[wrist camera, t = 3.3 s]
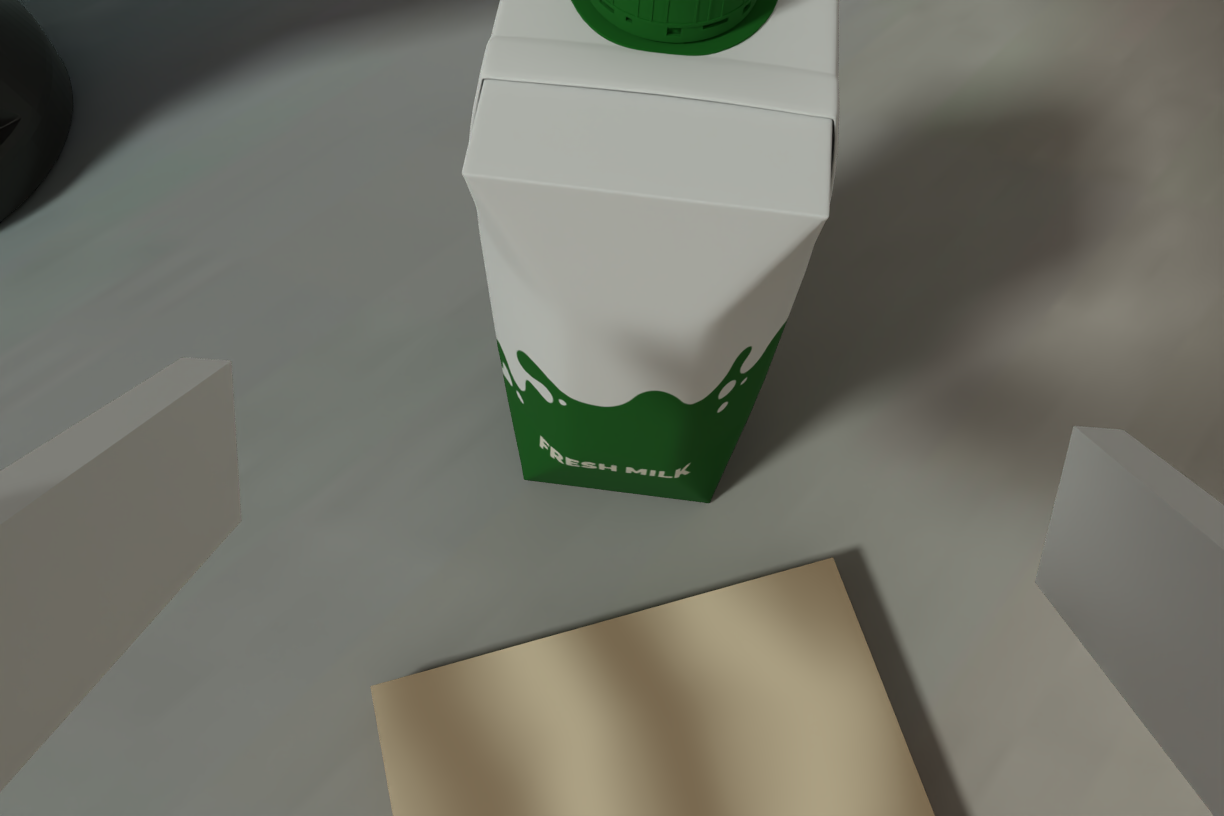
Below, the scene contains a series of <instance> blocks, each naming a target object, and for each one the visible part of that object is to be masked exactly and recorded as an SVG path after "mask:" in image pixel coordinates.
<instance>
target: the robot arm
mask: <svg viewBox="0 0 1224 816" xmlns="http://www.w3.org/2000/svg"><path fill="white" fill-rule="evenodd" d="M72 110H73V95H72V87H71V83H70V79H69V76H68V73H67V70H66V68H65V66H64V64H63V62H62V60H61V58H60V57H59V55H58V54H57V52H56V51H55V49H54V47H53V46H52V44H51V43H50V41H49V40H48V38H47V37H46V35H45V34H44V32H43V30H42V29H41V27H40V26H39V24H38V23H37V22H36V20H35V19H34V18H33V16H32V15H31V14H30V13H29V12H28V11H27V10H26V9H25V8H24V6H23V5H22V4H21V3H20V2H19V1H17V0H0V221H1V220H3V219H4V218H5V217H7V216H8V215H9V214H10V213H12V212H13V211H14V210H15V209H16V208H17V207H18V206H20V205H21V204H22V203H23V202H24V201H25V200H26V199H27V198H28V197H29V196H30V195H31V194H32V192H33V191H34V190H35V189H36V188H37V187H38V186H39V184H40V183H41V182H42V181H43V179H44V178H45V177H46V175H47V174H48V172H49V171H50V170H51V168H52V167H53V165H54V163H55V161H56V160H57V158H58V156H59V154H60V152H61V150H62V148H63V146H64V143H65V141H66V138H67V135H68V132H69V128H70V124H71V119H72ZM241 521H242V520H241V504H240V488H239V473H238V457H237V441H236V425H235V409H234V393H233V378H232V362H231V361H227V360H214V359H201V358H188V357H182V358H180V359H179V360H177V361H175V362H174V363H172V364H171V365H169V366H167V367H166V368H164V369H163V370H161V371H159V372H158V373H156V374H155V375H153V376H151V377H150V378H148V379H147V380H145V381H143V382H142V383H140V384H139V385H137V386H135V387H134V388H132V389H131V390H129V391H127V392H126V393H124V394H123V395H121V396H119V397H118V398H116V399H115V400H113V401H111V402H110V403H108V404H107V405H105V406H103V407H102V408H100V409H99V410H97V411H95V412H94V413H92V414H91V415H89V416H87V417H86V418H84V419H83V420H81V421H79V422H78V423H76V424H75V425H73V426H71V427H70V428H68V429H67V430H65V431H63V432H62V433H60V434H59V435H57V436H55V437H54V438H52V439H51V440H49V441H47V442H46V443H44V444H43V445H41V446H39V447H38V448H36V449H35V450H33V451H31V452H30V453H28V454H27V455H25V456H23V457H22V458H20V459H19V460H17V461H15V462H14V463H12V464H11V465H9V466H7V467H6V468H4V469H3V470H1V471H0V792H1V790H2V789H3V788H4V787H5V786H6V785H7V784H8V783H9V781H10V780H11V779H12V778H13V777H14V776H15V775H16V774H17V772H18V771H19V770H20V769H21V768H22V767H23V766H24V765H25V763H26V762H27V761H28V760H29V759H30V758H31V757H32V756H33V754H34V753H35V752H36V751H37V750H38V749H39V748H40V747H41V745H42V744H43V743H44V742H45V741H46V740H47V739H48V738H49V736H50V735H51V734H52V733H53V732H54V731H55V730H56V729H57V727H58V726H59V725H60V724H61V723H62V722H63V721H64V720H65V718H66V717H67V716H68V715H69V714H70V713H71V712H72V711H73V709H74V708H75V707H76V706H77V705H78V704H79V703H80V702H81V700H82V699H83V698H84V697H85V696H86V695H87V694H88V693H89V691H90V690H91V689H92V688H93V687H94V686H95V685H96V684H97V682H98V681H99V680H100V679H101V678H102V677H103V676H104V675H105V673H106V672H107V671H108V670H109V669H110V668H111V667H112V666H113V664H114V663H115V662H116V661H117V660H118V659H119V658H120V657H121V655H122V654H123V653H124V652H125V651H126V650H127V649H128V648H129V646H130V645H131V644H132V643H133V642H134V641H135V640H136V639H137V637H138V636H139V635H140V634H141V633H142V632H143V631H144V630H145V628H146V627H147V626H148V625H149V624H150V623H151V622H152V621H153V619H154V618H155V617H156V616H157V615H158V614H159V613H160V612H161V610H162V609H163V608H164V607H165V606H166V605H167V604H168V603H169V601H170V600H171V599H172V598H173V597H174V596H175V595H176V594H177V592H178V591H179V590H180V589H181V588H182V587H183V586H184V585H185V583H186V582H187V581H188V580H189V579H190V578H191V577H192V576H193V574H194V573H195V572H196V571H197V570H198V569H199V568H200V567H201V565H202V564H203V563H204V562H205V561H206V560H207V559H208V558H209V557H210V555H211V554H212V553H213V552H214V551H215V550H216V549H217V548H218V546H219V545H220V544H221V543H222V542H223V541H224V540H225V539H226V537H227V536H228V535H229V534H230V533H231V532H232V531H233V530H234V528H235V527H236V526H237V525H238V524H239V523H240V522H241ZM1035 583H1036V584H1037V585H1038V587H1039V588H1040V589H1041V591H1042V592H1043V593H1044V595H1045V596H1046V597H1047V598H1048V600H1049V601H1050V602H1051V604H1052V605H1053V606H1054V608H1055V609H1056V610H1057V612H1058V613H1059V614H1060V615H1061V617H1062V618H1063V619H1064V621H1065V622H1066V623H1067V625H1068V626H1069V627H1070V629H1071V630H1072V631H1073V632H1074V634H1075V635H1076V636H1077V638H1078V639H1079V640H1080V642H1081V643H1082V644H1083V645H1084V647H1085V648H1086V649H1087V651H1088V652H1089V653H1090V655H1091V656H1092V657H1093V659H1094V660H1095V661H1096V662H1097V664H1098V665H1099V666H1100V668H1101V669H1102V670H1103V672H1104V673H1105V674H1106V676H1107V677H1108V678H1109V679H1110V681H1111V682H1112V683H1113V685H1114V686H1115V687H1116V689H1117V690H1118V691H1119V692H1120V694H1121V695H1122V696H1123V698H1124V699H1125V700H1126V702H1127V703H1128V704H1129V706H1130V707H1131V708H1132V709H1133V711H1134V712H1135V713H1136V715H1137V716H1138V717H1139V719H1140V720H1141V721H1142V722H1143V724H1144V725H1145V726H1146V728H1147V729H1148V730H1149V732H1150V733H1151V734H1152V736H1153V737H1154V738H1155V739H1156V741H1157V742H1158V743H1159V745H1160V746H1161V747H1162V749H1163V750H1164V751H1165V753H1166V754H1167V755H1168V756H1169V758H1170V759H1171V760H1172V762H1173V763H1174V764H1175V766H1176V767H1177V768H1178V769H1179V771H1180V772H1181V773H1182V775H1183V776H1184V777H1185V779H1186V780H1187V781H1188V783H1189V784H1190V785H1191V786H1192V788H1193V789H1194V790H1195V792H1196V793H1197V794H1198V796H1199V797H1200V798H1201V800H1202V801H1203V802H1204V803H1205V805H1206V806H1207V807H1208V809H1209V810H1210V811H1211V813H1212V814H1213V815H1214V816H1224V505H1223V504H1222V503H1220V502H1219V501H1218V500H1216V499H1215V498H1214V497H1212V496H1211V495H1210V494H1208V493H1207V492H1206V491H1204V490H1203V489H1202V488H1200V487H1199V486H1198V485H1196V484H1195V483H1194V482H1192V481H1191V480H1190V479H1188V478H1187V477H1186V476H1184V475H1183V474H1182V473H1180V472H1179V471H1178V470H1176V469H1175V468H1174V467H1172V466H1171V465H1170V464H1168V463H1167V462H1166V461H1164V460H1163V459H1162V458H1160V457H1159V456H1158V455H1156V454H1155V453H1154V452H1152V451H1151V450H1150V449H1148V448H1147V447H1146V446H1144V445H1143V444H1142V443H1140V442H1139V441H1138V440H1136V439H1135V438H1134V437H1132V436H1131V435H1130V434H1128V433H1127V432H1126V431H1124V430H1122V429H1109V428H1096V427H1083V426H1073V430H1072V434H1071V438H1070V442H1069V447H1068V451H1067V455H1066V459H1065V463H1064V467H1063V471H1062V475H1061V479H1060V483H1059V487H1058V491H1057V495H1056V499H1055V503H1054V507H1053V511H1052V515H1051V519H1050V524H1049V528H1048V532H1047V536H1046V540H1045V544H1044V548H1043V552H1042V556H1041V560H1040V564H1039V568H1038V572H1037V576H1036V580H1035Z"/></svg>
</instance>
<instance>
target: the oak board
mask: <svg viewBox="0 0 1224 816" xmlns="http://www.w3.org/2000/svg"><path fill="white" fill-rule="evenodd" d="M371 692H372V698H373V704H374V709H375V715H376V721H377V726H378V732H379V738H380V744H381V749H382V755H383V761H384V766H385V772H386V778H387V784H388V789H389V795H390V801H391V806H392V812H393V816H935V815H934V812H933V810H932V807H931V805H930V802H929V800H928V797H927V794H926V792H925V789H924V787H923V784H922V782H921V779H920V777H919V774H918V772H917V769H916V767H915V764H914V762H913V759H912V756H911V754H910V751H909V749H908V746H907V744H906V741H905V739H904V736H903V734H902V731H901V729H900V726H899V723H898V721H897V718H896V716H895V713H894V711H893V708H892V706H891V703H890V701H889V698H888V696H887V693H886V691H885V688H884V685H883V683H882V680H881V678H880V675H879V673H878V670H877V668H876V665H875V663H874V660H873V658H872V655H871V652H870V650H869V647H868V645H867V642H866V640H865V637H864V635H863V632H862V630H861V627H860V625H859V622H858V620H857V617H856V614H855V612H854V609H853V607H852V604H851V602H850V599H849V597H848V594H847V592H846V589H845V587H844V584H843V581H842V579H841V576H840V574H839V571H838V569H837V566H836V564H835V561H834V559H833V557H832V558H829V559H825V560H822V561H818V562H815V563H811V564H807V565H804V566H800V567H797V568H793V569H789V570H786V571H782V572H779V573H775V574H771V575H768V576H764V577H761V578H757V579H754V580H750V581H746V582H743V583H739V584H736V585H732V586H728V587H725V588H721V589H718V590H714V591H710V592H707V593H703V594H700V595H696V596H693V597H689V598H685V599H682V600H678V601H675V602H671V603H667V604H664V605H660V606H657V607H653V608H649V609H646V610H642V611H639V612H635V613H632V614H628V615H624V616H621V617H617V618H614V619H610V620H606V621H603V622H599V623H596V624H592V625H589V626H585V627H581V628H578V629H574V630H571V631H567V632H563V633H560V634H556V635H553V636H549V637H545V638H542V639H538V640H535V641H531V642H528V643H524V644H520V645H517V646H513V647H510V648H506V649H502V650H499V651H495V652H492V653H488V654H484V655H481V656H477V657H474V658H470V659H467V660H463V661H459V662H456V663H452V664H449V665H445V666H441V667H438V668H434V669H431V670H427V671H423V672H420V673H416V674H413V675H409V676H406V677H402V678H398V679H395V680H391V681H388V682H384V683H380V684H377V685H373V686H371Z"/></svg>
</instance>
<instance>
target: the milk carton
mask: <svg viewBox="0 0 1224 816" xmlns="http://www.w3.org/2000/svg"><path fill="white" fill-rule="evenodd" d="M838 73H839V0H500V3H499V7H498V11H497V14H496V18H495V22H494V26H493V31H492V35H491V38H490V39H489V41H488V43H487V47H486V50H485V54H484V58H483V62H482V67H481V71H480V76H479V81H478V86H477V91H476V95H475V100H474V105H473V112H472V119H471V127H470V137H469V144H468V148H467V152H466V157H465V161H464V165H463V170H462V175H463V176H464V179H465V181H466V183H467V185H468V188H469V190H470V193H471V195H472V197H473V200H474V203H475V205H476V208H477V215H478V224H479V232H480V239H481V245H482V251H483V258H484V264H485V270H486V276H487V283H488V289H489V295H490V301H491V307H492V314H493V320H494V326H495V332H496V338H497V345H498V350H499V355H500V359H501V364H502V370H503V376H504V381H505V387H506V392H507V397H508V402H509V407H510V412H511V417H512V422H513V426H514V431H515V436H516V441H517V446H518V450H519V455H520V460H521V465H522V470H523V476H524V480H530V481H538V482H546V483H554V484H562V485H570V486H578V487H586V488H594V489H602V490H609V491H617V492H625V493H633V494H641V495H649V496H657V497H665V498H673V499H681V500H688V501H696V502H704V503H710V501H711V498H712V496H713V494H714V491H715V489H716V487H717V485H718V483H719V480H720V478H721V476H722V474H723V472H724V470H725V467H726V465H727V463H728V461H729V459H730V457H731V454H732V452H733V450H734V448H735V446H736V444H737V441H738V439H739V437H740V435H741V433H742V431H743V428H744V426H745V424H746V422H747V419H748V417H749V415H750V413H751V410H752V408H753V405H754V403H755V401H756V398H757V396H758V393H759V391H760V389H761V386H762V384H763V382H764V380H765V377H766V374H767V372H768V369H769V366H770V364H771V361H772V359H773V356H774V353H775V351H776V348H777V345H778V343H779V340H780V338H781V335H782V332H783V330H784V327H785V324H786V322H787V319H788V317H789V314H790V311H791V309H792V306H793V303H794V301H795V298H796V295H797V293H798V290H799V287H800V285H801V282H802V280H803V277H804V274H805V272H806V269H807V266H808V263H809V260H810V257H811V254H812V251H813V247H814V244H815V242H816V240H817V238H818V236H819V234H820V232H821V230H822V228H823V226H824V223H825V222H826V220H827V219H828V217H829V210H830V202H831V197H832V192H833V186H834V180H835V173H836V164H837V155H838V140H839V83H838Z"/></svg>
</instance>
